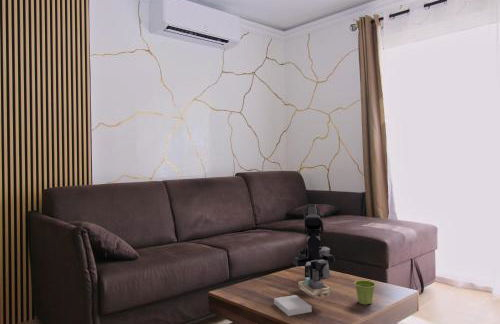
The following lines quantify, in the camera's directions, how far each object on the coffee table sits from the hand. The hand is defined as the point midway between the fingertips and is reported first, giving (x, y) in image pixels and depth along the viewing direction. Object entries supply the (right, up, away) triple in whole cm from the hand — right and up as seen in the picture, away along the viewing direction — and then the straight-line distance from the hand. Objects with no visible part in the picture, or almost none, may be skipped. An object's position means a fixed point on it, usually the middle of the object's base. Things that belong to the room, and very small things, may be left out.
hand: (314, 278), depth 183 cm
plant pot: (+23, -11, +1) cm, 26 cm away
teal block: (-1, -4, +3) cm, 5 cm away
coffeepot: (+11, -11, +41) cm, 44 cm away
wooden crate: (0, -6, 0) cm, 6 cm away
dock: (-10, -12, -4) cm, 16 cm away
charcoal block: (+1, -4, -3) cm, 5 cm away
